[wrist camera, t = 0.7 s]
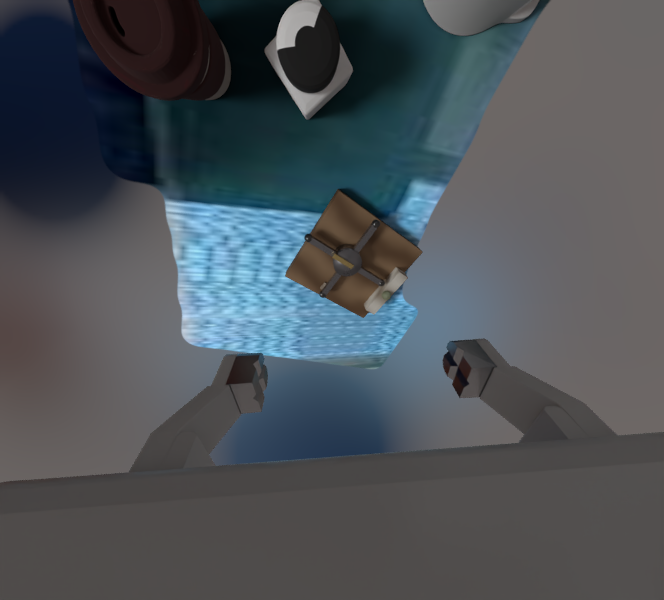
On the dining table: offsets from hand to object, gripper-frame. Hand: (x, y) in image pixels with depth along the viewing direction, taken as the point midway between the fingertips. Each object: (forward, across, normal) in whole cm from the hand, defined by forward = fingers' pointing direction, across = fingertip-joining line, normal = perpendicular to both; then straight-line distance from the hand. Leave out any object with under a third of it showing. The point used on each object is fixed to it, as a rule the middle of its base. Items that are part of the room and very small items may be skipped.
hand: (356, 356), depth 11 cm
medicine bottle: (+36, +1, -16) cm, 40 cm away
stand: (+36, -4, +11) cm, 38 cm away
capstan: (+34, -3, +10) cm, 36 cm away
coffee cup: (+36, +15, -17) cm, 43 cm away
